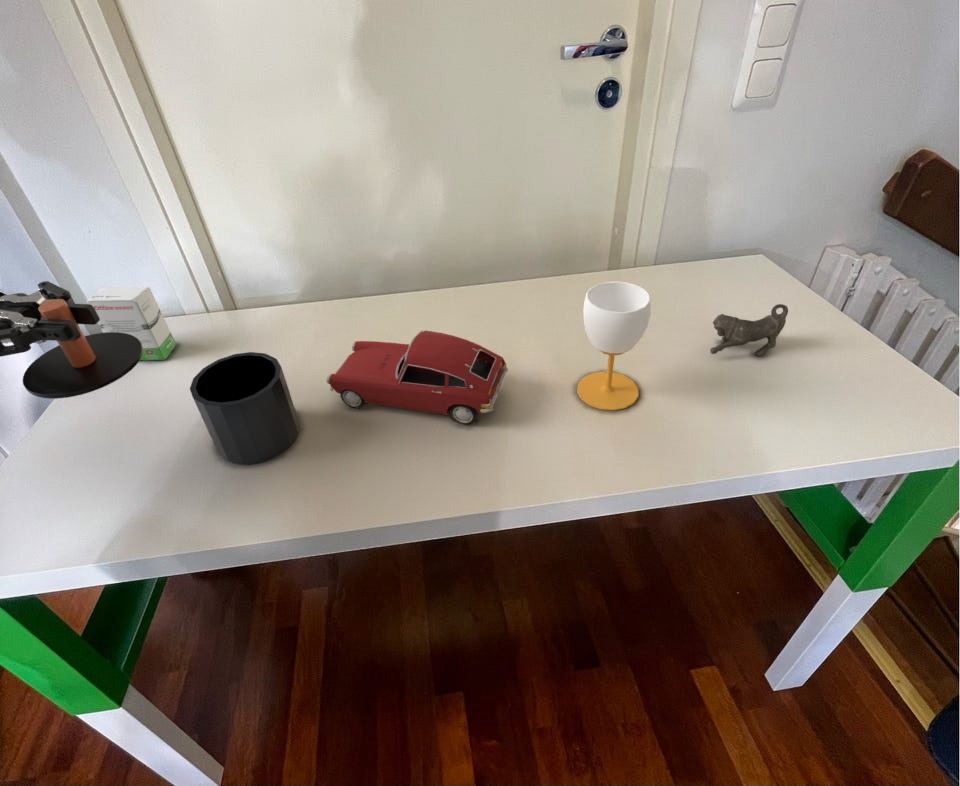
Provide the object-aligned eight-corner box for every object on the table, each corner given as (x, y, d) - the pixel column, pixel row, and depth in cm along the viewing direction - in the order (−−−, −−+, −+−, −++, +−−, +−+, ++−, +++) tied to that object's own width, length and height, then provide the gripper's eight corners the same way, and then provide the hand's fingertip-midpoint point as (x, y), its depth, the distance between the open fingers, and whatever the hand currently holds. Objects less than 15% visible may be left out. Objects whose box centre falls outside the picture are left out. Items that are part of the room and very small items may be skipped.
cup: (573, 374, 92) (578, 281, 82) (631, 371, 92) (644, 278, 82) (581, 412, 85) (588, 316, 75) (645, 409, 85) (661, 312, 75)
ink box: (178, 344, 104) (151, 284, 97) (164, 361, 100) (136, 300, 93) (131, 344, 105) (101, 285, 97) (116, 361, 101) (83, 300, 93)
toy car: (359, 363, 97) (347, 310, 91) (510, 383, 91) (508, 328, 85) (328, 406, 89) (313, 351, 83) (492, 431, 83) (489, 374, 77)
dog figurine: (767, 334, 98) (780, 294, 93) (785, 354, 93) (798, 313, 89) (696, 341, 97) (705, 301, 93) (710, 361, 93) (720, 321, 88)
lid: (7, 410, 64) (-40, 344, 59) (53, 346, 74) (15, 284, 68) (127, 394, 65) (92, 328, 60) (157, 333, 75) (128, 271, 69)
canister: (209, 470, 80) (181, 411, 73) (224, 415, 88) (200, 358, 82) (296, 458, 81) (275, 398, 74) (302, 405, 89) (284, 347, 83)
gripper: (-132, 320, 60) (19, 328, 57) (-21, 257, 70) (110, 261, 68) (-84, 379, 64) (58, 389, 62) (13, 312, 75) (137, 318, 73)
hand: (84, 322), depth 65 cm, fingers closed on lid, 2 cm apart
